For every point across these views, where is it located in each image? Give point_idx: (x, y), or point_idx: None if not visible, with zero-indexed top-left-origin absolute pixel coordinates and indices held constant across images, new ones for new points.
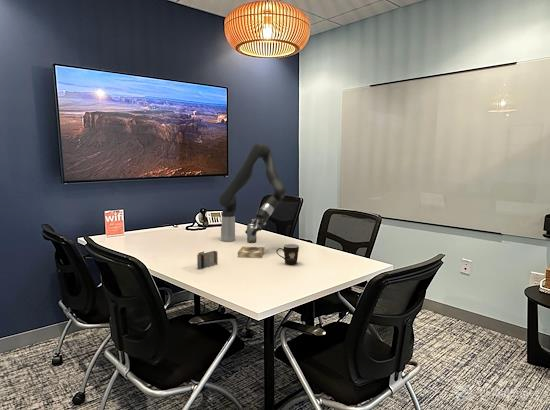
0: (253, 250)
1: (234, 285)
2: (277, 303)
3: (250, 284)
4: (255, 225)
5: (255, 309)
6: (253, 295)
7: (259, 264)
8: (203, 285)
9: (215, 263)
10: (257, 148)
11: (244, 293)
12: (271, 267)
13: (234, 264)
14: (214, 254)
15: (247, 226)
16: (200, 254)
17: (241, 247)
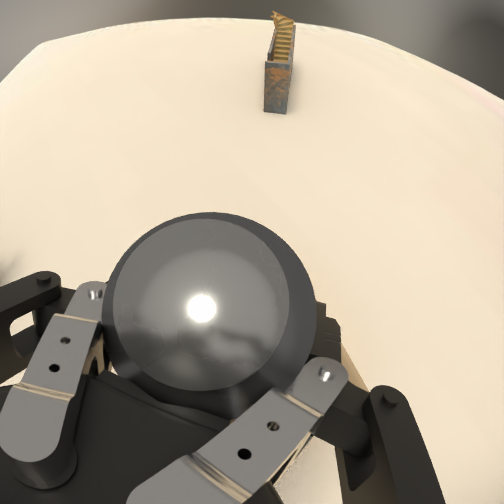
0: None
1: (102, 55)
2: (14, 70)
3: (68, 76)
4: (148, 389)
5: (44, 44)
6: (52, 58)
7: (88, 208)
8: (170, 26)
9: (275, 107)
10: None
11: (70, 52)
12: (34, 205)
13: (198, 145)
14: (285, 77)
15: (251, 223)
16: (290, 29)
17: (352, 365)
